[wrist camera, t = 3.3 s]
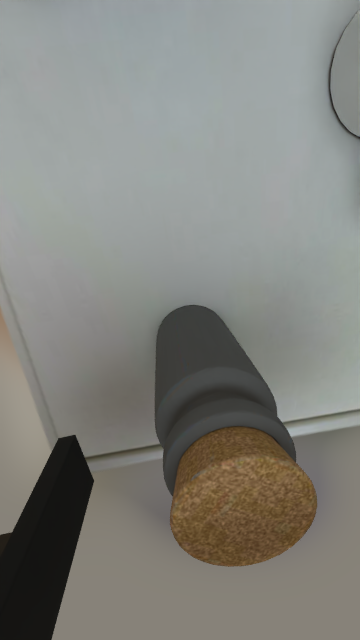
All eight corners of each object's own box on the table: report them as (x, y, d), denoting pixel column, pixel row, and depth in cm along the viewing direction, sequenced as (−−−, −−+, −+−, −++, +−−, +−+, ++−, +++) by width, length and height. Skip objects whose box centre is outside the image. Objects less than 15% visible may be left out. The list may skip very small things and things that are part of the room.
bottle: (191, 382, 24) (237, 602, 10) (141, 340, 23) (111, 528, 8) (240, 336, 23) (371, 508, 9) (192, 289, 22) (256, 405, 7)
